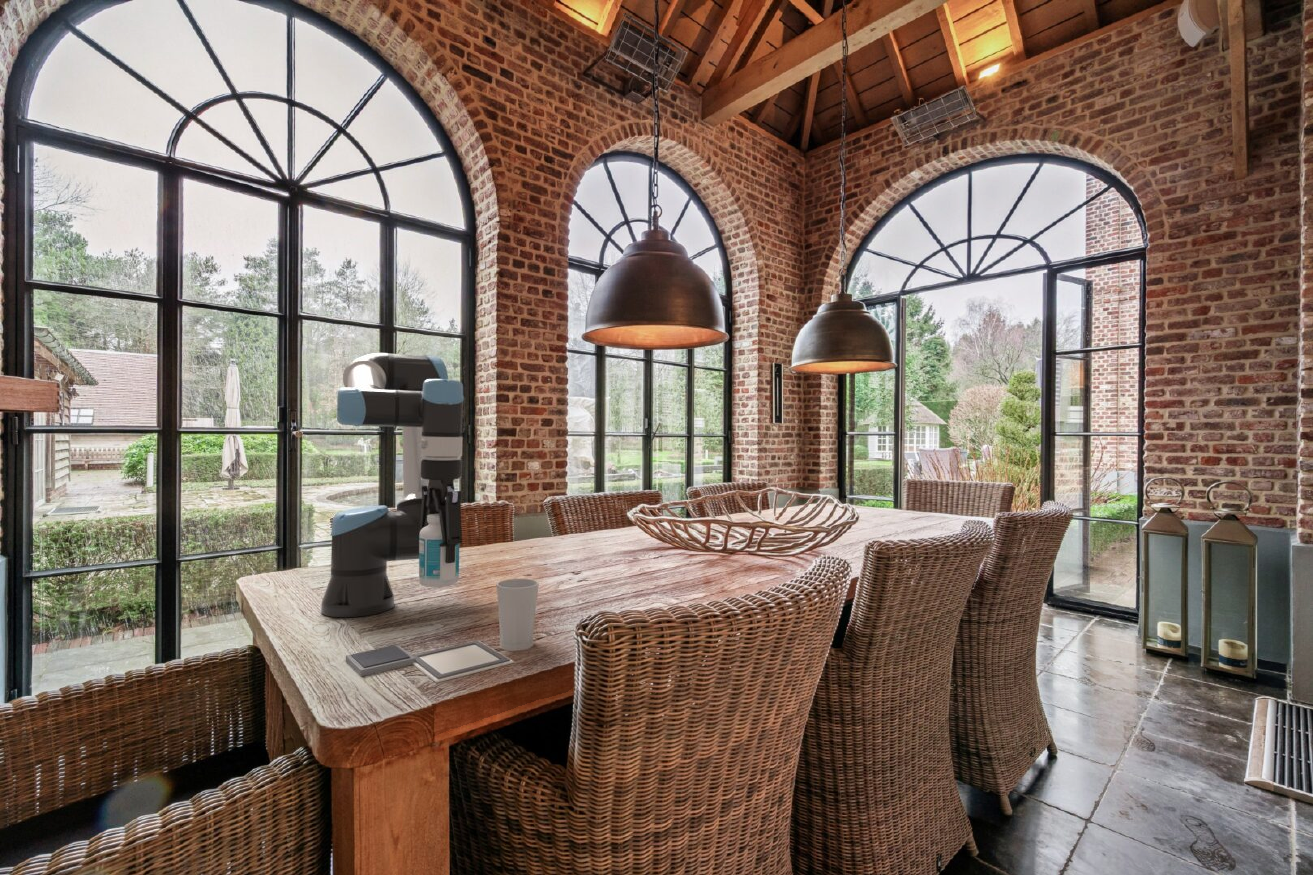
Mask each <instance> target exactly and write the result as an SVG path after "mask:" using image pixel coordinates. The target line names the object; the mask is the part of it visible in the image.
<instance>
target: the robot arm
mask: <svg viewBox="0 0 1313 875" xmlns="http://www.w3.org/2000/svg"><path fill="white" fill-rule="evenodd" d="M342 383H343V385H344V387H340V388H338V390H337V396H336V397H337V400H336V402H337V405H336V421H337V422H338V423H339V424H340V425H342V426H353V427H393V428H394V427H395V428H396V427H399V428H400V427H401V428H402V429H401V431H402V437H401V438H402V477H403V478H402V480H403V481H402V482H403V485H402V488H403V491H402V492H403V497H402V499H401V500H399V502H398V503H396V511H389V508H388V506H387V505H381V504H380V505H368V506H363V507H356V508H351V509H347V510H343V511H340V512H338V513H336V514H335V515H333V517H332V521H331V532H330V536H331V548H330V549H331V553H330V555H331V556H330V557H331V558H330V577H329V578H330V579H329V582H328V583H327V586H326V589H325V592H324V594H323V597H322V600H321V605H320V606H321V607H320V608H321V610H320V612H321V614H322V615H324V616H327V617H332V618H353V617H354V618H357V617H365V616H371V615H376V614H379V613H380V614H381V613H383V612H387V611H389V610H391V609H393V608H394V606H395V595H394V592H393V589H392V586H391V583H390V579H389V577H388V573H387V571H388V570H387V568H388V567H387V563H388V562H394V561H395V562H397V561H410V560H419V536H420V531H421V529H422V528H424V527H426V526H428V524H429V523H428V521H427V516H428V515H430V514H439V517H440V525H441V532H442V540H443V543H441V544H439V546H440V547H441V551H440V580H441V581H443V580H449V579H455V567H456V545H457V544H458V543H459V544H462V543H463V532H462V531H463V529H462V505H461V504H462V503H461V502H462V495H463V494H462V491H461V490H455V484H454V481H455V480H458V479H461V477H462V464H463V462H462V460H461V459H460V458H461V457H462V456H463V438H464V437H463V414H464V413H463V412H464V410H463V409H464V400H465V397H464V385H463V383H462V382H461V381H459V380H455V379H449V374H448V370H447V366H446V363H445V361H443V359H441V358H440V357H437V356H429V355H427V354H426V355H415V354H414V355H413V354H402V353H401V354H400V353H388V352H376V353H375V352H374V353H369V354H365V355H362V356H360V357H357V358H355V359H353V360H352V361H351V362H350V363H348V364H347V365H346V367H345V369H344V370H343V374H342Z"/></svg>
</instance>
